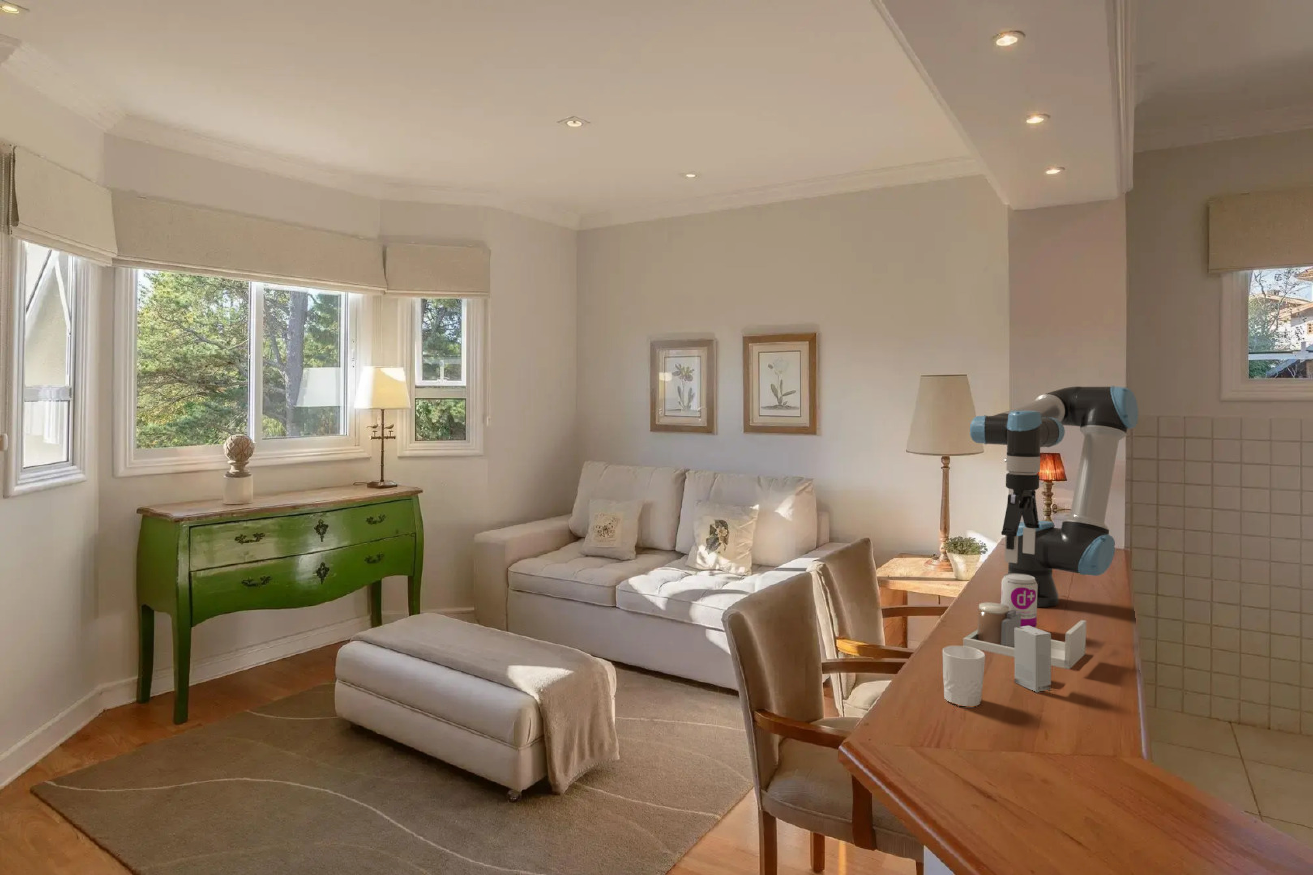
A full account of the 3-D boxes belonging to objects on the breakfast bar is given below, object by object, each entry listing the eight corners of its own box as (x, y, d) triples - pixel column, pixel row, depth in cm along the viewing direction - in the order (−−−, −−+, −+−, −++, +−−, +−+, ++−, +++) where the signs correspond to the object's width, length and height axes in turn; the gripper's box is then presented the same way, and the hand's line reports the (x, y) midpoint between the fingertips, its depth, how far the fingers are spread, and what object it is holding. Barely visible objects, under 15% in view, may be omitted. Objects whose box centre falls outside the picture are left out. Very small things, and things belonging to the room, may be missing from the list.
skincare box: (1052, 690, 162) (1053, 633, 161) (1035, 693, 160) (1037, 635, 159) (1028, 680, 168) (1030, 624, 167) (1012, 682, 166) (1013, 626, 165)
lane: (982, 637, 196) (983, 602, 195) (1084, 658, 180) (1086, 620, 180) (962, 650, 186) (963, 613, 185) (1069, 674, 171) (1070, 634, 170)
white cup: (982, 696, 159) (983, 647, 158) (985, 711, 152) (986, 660, 151) (941, 691, 162) (942, 643, 161) (941, 705, 154) (942, 656, 154)
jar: (983, 636, 192) (984, 600, 192) (1013, 642, 188) (1014, 605, 187) (972, 643, 187) (973, 606, 187) (1003, 650, 183) (1004, 612, 182)
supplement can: (1039, 641, 192) (1041, 581, 191) (1004, 639, 194) (1005, 579, 193) (1031, 631, 200) (1032, 573, 199) (996, 629, 202) (998, 572, 201)
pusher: (1015, 640, 189) (1016, 606, 188) (1020, 640, 188) (1021, 607, 188) (1000, 651, 181) (1001, 616, 181) (1005, 651, 181) (1006, 617, 180)
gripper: (1022, 468, 206) (1020, 547, 207) (989, 476, 187) (986, 563, 189) (1053, 470, 201) (1050, 551, 202) (1022, 478, 182) (1019, 568, 184)
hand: (1019, 557), depth 196 cm, fingers open, 13 cm apart
